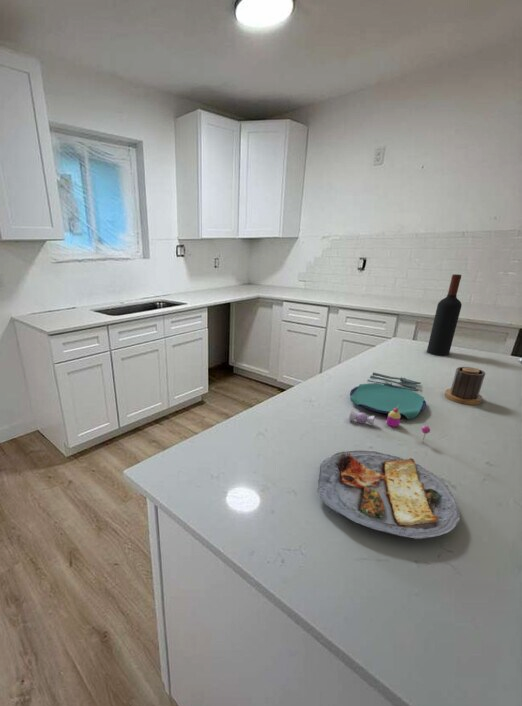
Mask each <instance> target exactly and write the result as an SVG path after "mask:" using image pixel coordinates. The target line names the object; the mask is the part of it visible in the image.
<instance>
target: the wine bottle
mask: <svg viewBox="0 0 522 706" xmlns="http://www.w3.org/2000/svg"><path fill="white" fill-rule="evenodd" d="M461 279H462V274H456V273H455V274H452V275H451V279H450V283H449V288H448V290H447V291H448V292H447V295H446V296H445V297H444V298H442V299H440V300H439V302H438V303H437V306H436V310H435V313H434V318H433V324H432V326H431V327H432V328H431V332H430V335H429V341H428V344H427V348H426V353H427V354H429V355H433V356H438V357H447V356H449V355H450V352H451V348H452V345H453V341H454V336H455V332H456V329H457V325H458V321H459V317H460V313H461V310H462V306H463V305H462V301H461V300H459V298H458V297H457V296H458V290H459V286H460V284H461V283H460V282H461Z"/></svg>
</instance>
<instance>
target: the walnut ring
mask: <svg viewBox="0 0 522 706" xmlns="http://www.w3.org/2000/svg"><path fill="white" fill-rule="evenodd" d="M465 367H466V366H458V367H457V368H456V369H455V373H454V376H453V380H452V384H451V388H450V389H451V391H450V392H451V394H452V395H454V396H456V397H459V398H463V399H476V398H478V396H479V394H480V393H481V389H482V387H483V383H484V379H485V377H486V372H485V371H484V370H482V369H480V368H476V367H474V368H475V369H478V370H479V374H477V375H476V374H468V373H464V372H462V369H463V368H465ZM469 367H470V368H472V367H471V366H469Z"/></svg>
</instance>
